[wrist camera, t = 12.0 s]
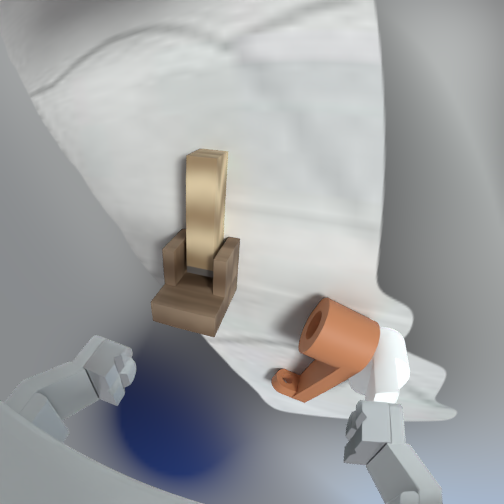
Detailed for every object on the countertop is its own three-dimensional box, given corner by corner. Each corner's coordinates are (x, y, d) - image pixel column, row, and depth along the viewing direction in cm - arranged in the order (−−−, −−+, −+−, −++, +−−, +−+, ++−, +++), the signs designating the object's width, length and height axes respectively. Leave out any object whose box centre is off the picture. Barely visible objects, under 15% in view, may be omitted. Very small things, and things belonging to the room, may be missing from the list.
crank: (330, 286, 42) (328, 325, 35) (377, 310, 42) (382, 350, 35) (267, 368, 52) (257, 404, 45) (307, 384, 52) (301, 421, 45)
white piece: (351, 326, 44) (351, 392, 33) (409, 326, 41) (422, 390, 31) (346, 367, 48) (343, 429, 38) (399, 367, 46) (405, 427, 35)
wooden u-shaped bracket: (182, 228, 42) (146, 266, 34) (239, 238, 41) (215, 281, 32) (183, 278, 46) (153, 320, 37) (236, 289, 45) (214, 337, 36)
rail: (200, 148, 36) (186, 155, 33) (228, 151, 36) (217, 158, 32) (198, 257, 44) (187, 272, 40) (222, 261, 43) (212, 277, 40)
